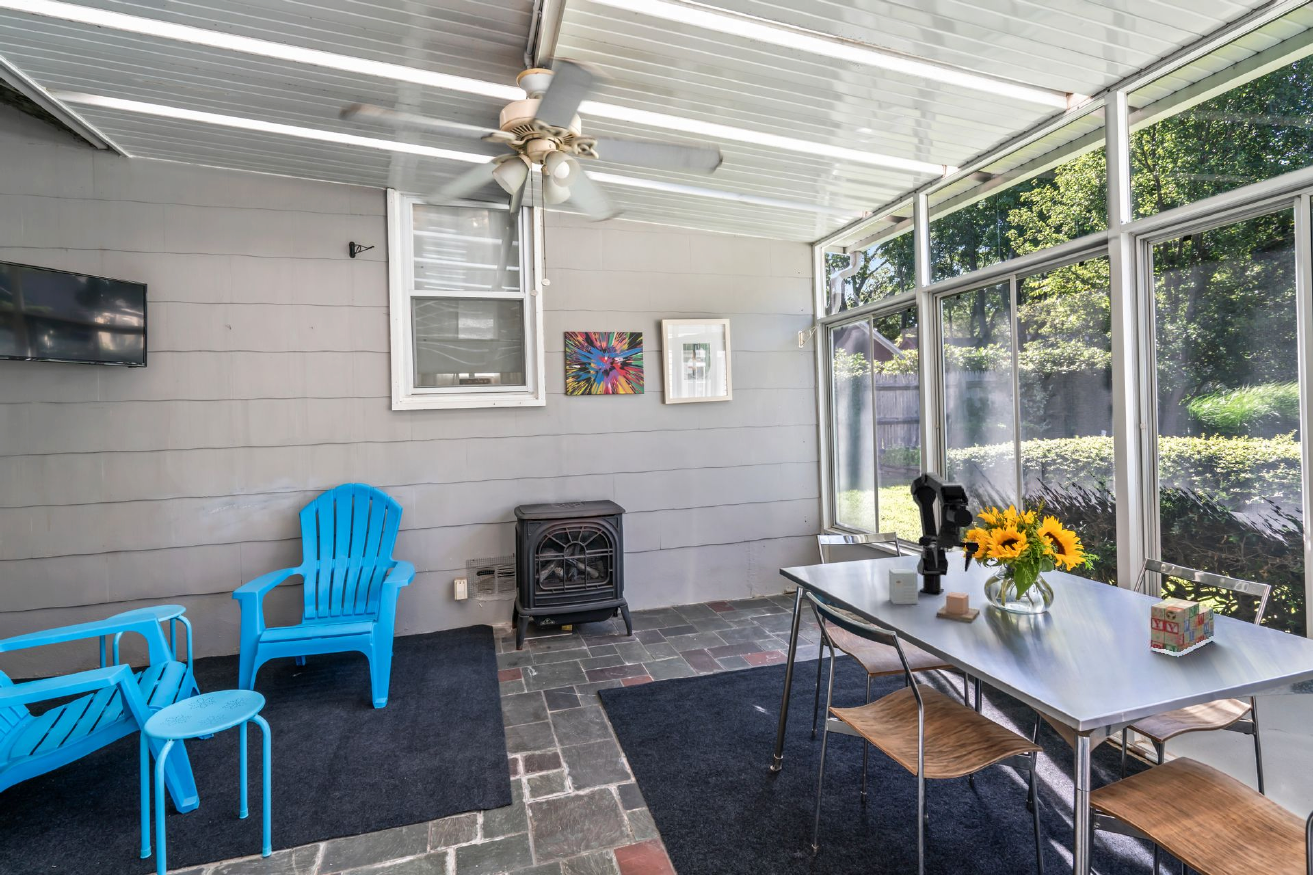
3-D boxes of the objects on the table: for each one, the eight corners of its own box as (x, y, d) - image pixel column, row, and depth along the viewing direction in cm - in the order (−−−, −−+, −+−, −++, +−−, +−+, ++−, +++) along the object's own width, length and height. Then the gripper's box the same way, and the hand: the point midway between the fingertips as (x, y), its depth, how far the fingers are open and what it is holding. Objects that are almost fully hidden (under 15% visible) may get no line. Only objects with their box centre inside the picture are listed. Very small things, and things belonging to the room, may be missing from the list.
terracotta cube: (951, 607, 206) (951, 591, 205) (968, 610, 202) (968, 594, 202) (946, 611, 202) (946, 595, 202) (963, 614, 199) (963, 598, 198)
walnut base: (945, 610, 209) (945, 604, 209) (979, 616, 203) (979, 609, 203) (936, 618, 201) (936, 612, 201) (971, 624, 195) (971, 618, 195)
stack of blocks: (1186, 635, 181) (1186, 591, 181) (1214, 641, 176) (1214, 596, 175) (1150, 651, 170) (1150, 604, 170) (1178, 658, 165) (1179, 610, 164)
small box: (913, 599, 220) (913, 568, 220) (918, 604, 214) (918, 572, 214) (888, 599, 221) (888, 568, 220) (893, 604, 215) (892, 572, 215)
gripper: (913, 522, 210) (913, 570, 211) (975, 528, 199) (975, 578, 199) (923, 518, 219) (924, 563, 220) (984, 523, 207) (984, 571, 208)
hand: (950, 569), depth 211 cm, fingers open, 9 cm apart
